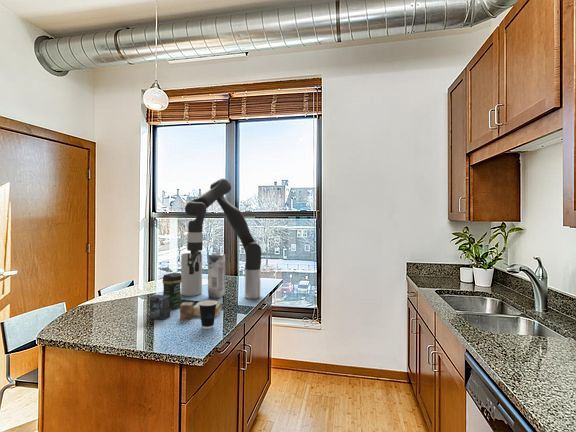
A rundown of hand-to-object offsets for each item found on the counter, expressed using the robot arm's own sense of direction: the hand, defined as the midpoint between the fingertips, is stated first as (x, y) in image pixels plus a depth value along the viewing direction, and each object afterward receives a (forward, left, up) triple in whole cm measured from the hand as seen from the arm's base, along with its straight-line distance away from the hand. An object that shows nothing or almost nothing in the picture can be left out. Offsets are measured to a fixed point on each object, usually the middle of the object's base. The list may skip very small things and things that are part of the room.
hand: (194, 272), depth 167 cm
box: (+14, +8, -21) cm, 27 cm away
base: (-7, -1, -21) cm, 22 cm away
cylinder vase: (+12, -39, -21) cm, 46 cm away
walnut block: (+1, +8, -21) cm, 22 cm away
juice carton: (-5, -33, -21) cm, 39 cm away
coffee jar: (+14, -9, -21) cm, 27 cm away
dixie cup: (-12, +20, -21) cm, 31 cm away
